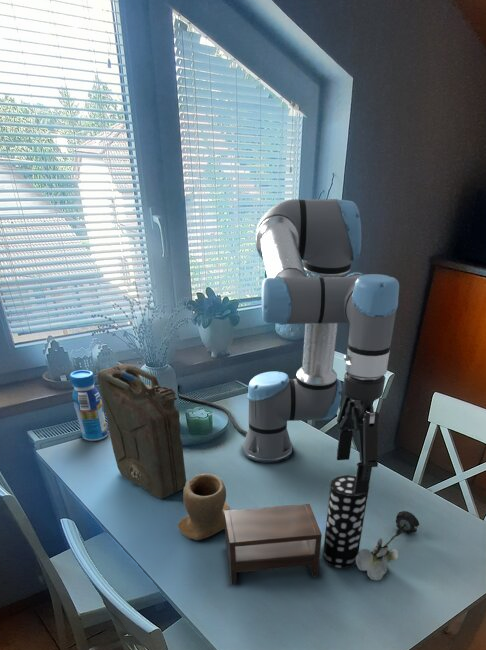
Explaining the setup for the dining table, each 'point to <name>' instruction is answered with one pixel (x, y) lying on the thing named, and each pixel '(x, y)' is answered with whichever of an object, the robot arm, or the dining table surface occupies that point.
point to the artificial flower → (385, 548)
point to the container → (143, 429)
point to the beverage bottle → (88, 406)
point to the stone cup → (204, 507)
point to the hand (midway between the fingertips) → (351, 475)
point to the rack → (272, 539)
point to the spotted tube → (344, 522)
